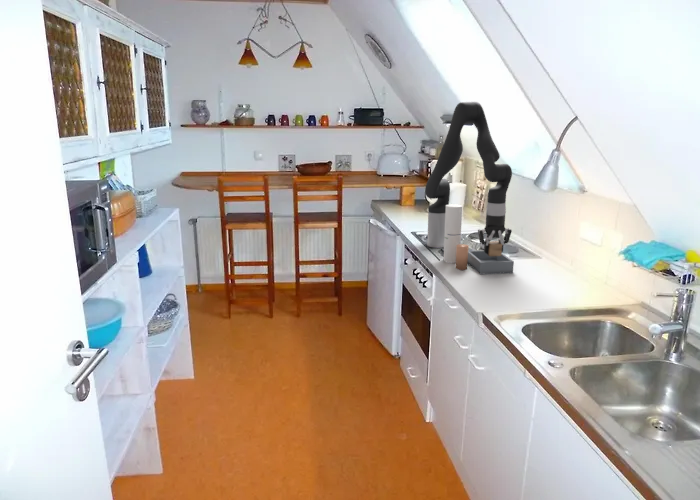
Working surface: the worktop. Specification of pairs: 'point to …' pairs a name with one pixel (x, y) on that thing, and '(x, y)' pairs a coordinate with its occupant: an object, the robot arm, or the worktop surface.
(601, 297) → the worktop surface
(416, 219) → the worktop surface
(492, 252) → the walnut cube
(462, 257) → the terracotta capsule
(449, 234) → the cylindrical container
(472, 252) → the grey tote
